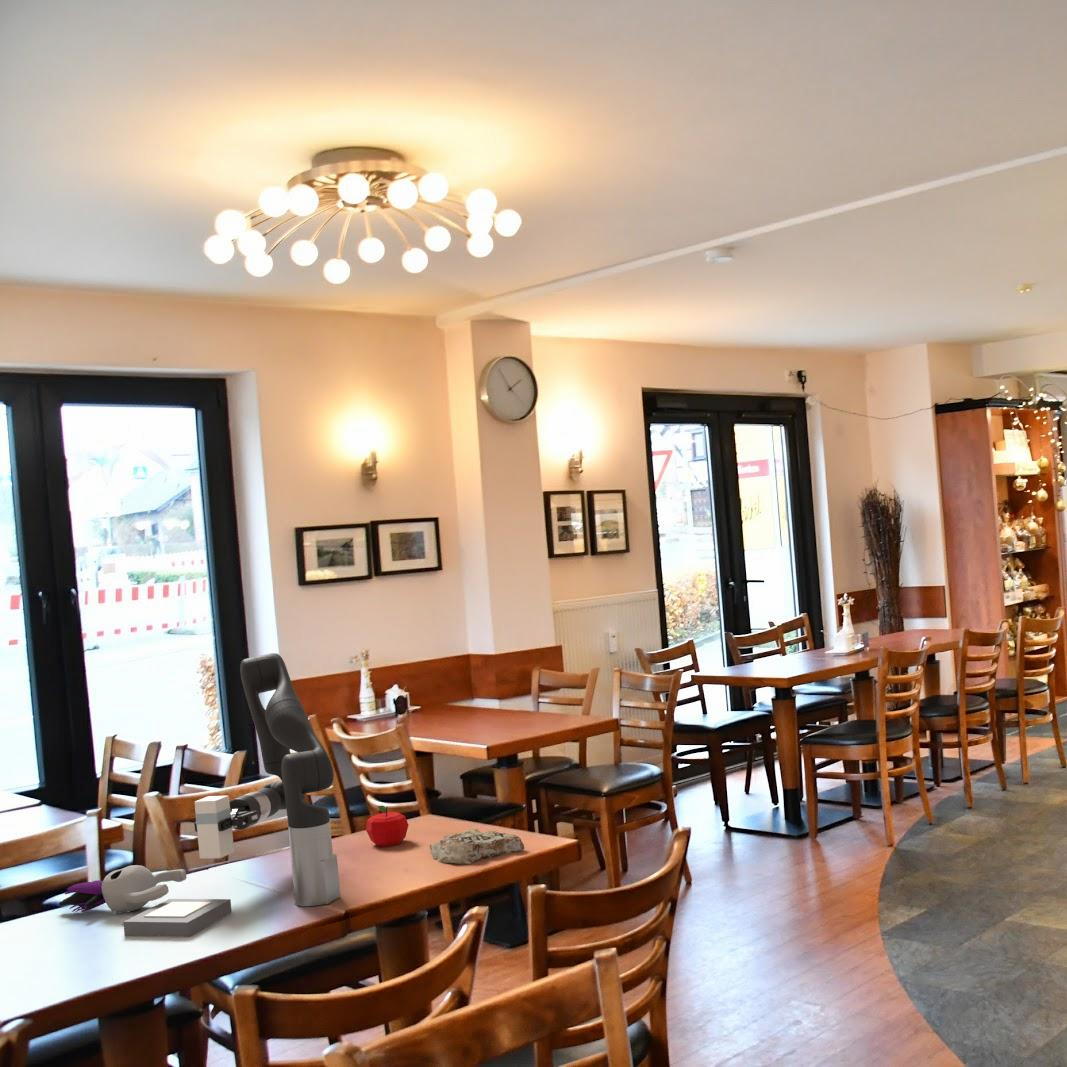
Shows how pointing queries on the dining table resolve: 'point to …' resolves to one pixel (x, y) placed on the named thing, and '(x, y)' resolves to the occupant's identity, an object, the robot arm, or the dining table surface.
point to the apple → (387, 828)
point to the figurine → (122, 889)
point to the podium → (177, 917)
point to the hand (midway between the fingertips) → (208, 827)
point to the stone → (474, 846)
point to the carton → (213, 827)
